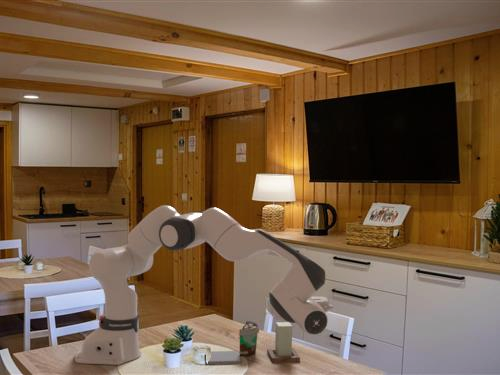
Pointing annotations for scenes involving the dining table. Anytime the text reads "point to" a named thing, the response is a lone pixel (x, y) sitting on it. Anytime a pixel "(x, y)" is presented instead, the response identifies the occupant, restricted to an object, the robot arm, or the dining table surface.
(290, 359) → the board
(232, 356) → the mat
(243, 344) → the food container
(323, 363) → the dining table surface
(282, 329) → the sage block
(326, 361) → the dining table surface
